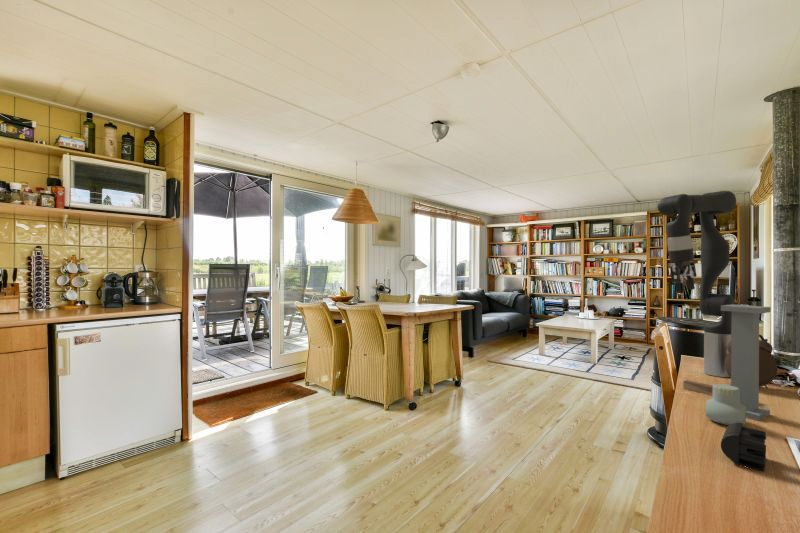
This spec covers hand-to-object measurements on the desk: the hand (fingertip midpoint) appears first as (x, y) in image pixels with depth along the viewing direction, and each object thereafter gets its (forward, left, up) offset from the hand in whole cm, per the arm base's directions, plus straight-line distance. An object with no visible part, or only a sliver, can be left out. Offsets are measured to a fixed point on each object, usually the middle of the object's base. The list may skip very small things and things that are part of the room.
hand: (685, 291), depth 145 cm
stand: (+18, +23, -35) cm, 46 cm away
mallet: (+6, +11, -35) cm, 37 cm away
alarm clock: (-17, +14, -35) cm, 41 cm away
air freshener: (+32, +23, -35) cm, 53 cm away
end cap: (+56, +33, -35) cm, 74 cm away
